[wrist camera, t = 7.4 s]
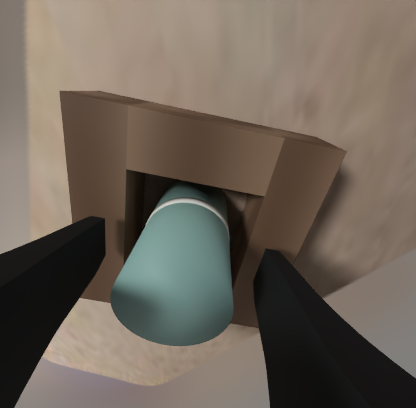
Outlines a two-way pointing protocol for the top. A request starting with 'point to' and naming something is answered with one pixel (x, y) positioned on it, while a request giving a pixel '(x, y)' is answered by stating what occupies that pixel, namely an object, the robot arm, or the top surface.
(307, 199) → the stand
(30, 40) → the top surface
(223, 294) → the peg
